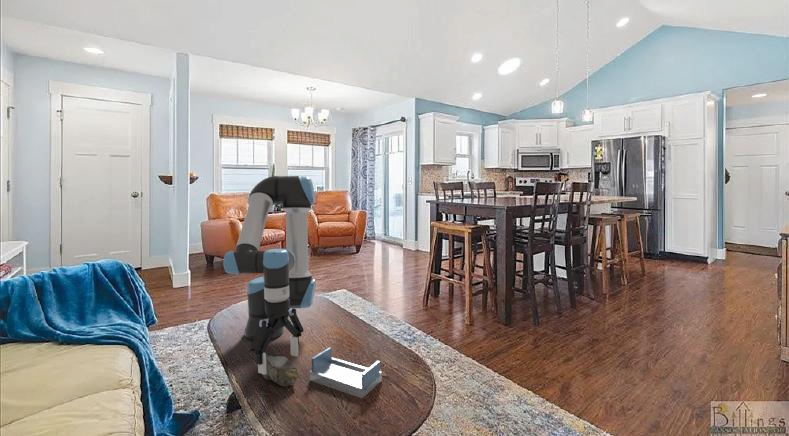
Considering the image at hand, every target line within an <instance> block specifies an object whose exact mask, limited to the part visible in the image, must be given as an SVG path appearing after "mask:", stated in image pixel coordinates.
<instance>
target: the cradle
mask: <svg viewBox="0 0 789 436" xmlns="http://www.w3.org/2000/svg"><path fill="white" fill-rule="evenodd" d="M382 377H383V376H382V371H381V361H380V360H376V361H375V362H374V363H373V364H372V365H371V366H369V367H366V366H362V365H359V364H356V363H352V362H350V361H349V362H348V361H346V360H343V359H339V358H335V357H333V356H332V347H330V346H329V347H328V348H326V349H324V350H323V351H321V352H319V353H317V354H316V355H315V356H313V357H311V370H310V371H309V381H311V382H313V383H316V384H319V385H321V386H325V387H327V388H330V389H333V390H336V391H338V392H339V391H340V392H341V393H345V394H348V395H350V396H353V397H357V398H360V399H364V397H366V395H368V394H369V393H370V392H372V390H373V389H374V388H376V387H377V386H378V385H379V384H380V383H381V382H382V380H383V379H382Z"/></svg>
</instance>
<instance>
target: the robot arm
mask: <svg viewBox="0 0 789 436" xmlns="http://www.w3.org/2000/svg"><path fill="white" fill-rule="evenodd" d="M314 189H315V188H314V185H313V181H312V178H311V177H309V176H306V175H305V176H303V175H284V176H283V175H282V176H281V175H273V176H269V177H266V178H264V179H262V180H261V181H259V182H258V183H257V184H255V186H254V187H253V188H252V190H251V191H250V193H249V195H248V198H247V204H248V207H247V210H246V213H245V217H244V220H243V223H242V227H241V229H240V233H239V236H238V240H237V243H236V245H235V248H234V250H231V251H226V253H225V254H224V256H223V265H222V266H223V268H224V272H225V273H227V274H230V275H248V274H249V275H250V274H251V275H252V274H261V275H262V274H263V276H261V277H256V278H254V279H252V280H250V281H249V282H248V284H247V292H246V293H247V308H248V309H247V310H248V317H247V322H246V326H245V329H244V337H245V339H246V340H249V341H252V343H251V346H250V348H249V349H250V350H249V353H250V354H252V355H255V363H256V365H257V373H258V374H261V375H262V374H263V375H265V374H266V355H267V353H266V352H265V350H266V349H267V346H268V345H269V343H270V340H273V339H276V338H278V337H280V336H281V335H283V334H284V328H285V329H286V330H287V331H288V332H290V333H291V335H290V336H289V339H290V340H289V341H290V356H293V357H296V358H297V357H299V345H300V337H302V333H303V332H304V331H305V330H304V328H303V326H302V323H301V321H300V319H299V317H298V314H297V309H299V310H300V309H307V308H310V307H312V306H313V303H314V298H315V295H316V294H315V293H316V282H317V280H316V279H315V278H313V277H312V276H313V274H312V272H310V271H309V258H308V257H309V247H308V246H309V241H308V240H309V238H308V237H309V235H308V234H309V233H308V232H309V231H308V230H309V229H308V228H309V227H308V221H309V220H308V219H309V218H308V216H309V215H308V213H309V212H310V211H311V210H312V206H313V205H315V203H316V197H315V190H314ZM274 205H279V206H280V205H281V209H282V210H283V211H284V213H285V217H286V218H285V220H286V221H285V225H286V226H285V227H286V228H285V229H286V230H285V235H286V239H285V240H286V242H285V243H286V245H285V246H286V247H285V248H272V249H271V248H270V249H267V250H260V247H261V242H262V239H263V234H264V231H265V227H266V223H267V219H268V215H269V211H270V210H272V208H273V207H274ZM288 318H289V319H288ZM263 375H262V376H263Z"/></svg>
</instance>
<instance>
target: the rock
mask: <svg viewBox="0 0 789 436" xmlns="http://www.w3.org/2000/svg"><path fill="white" fill-rule="evenodd" d="M261 375H262V376H263V378H264V379H265V380H267V381H273V382H274V383H275V384H277V385H279V386H282V387H284V388H285V387H289V386H294V385H295V384H296V381H297V379H298V377H299V372H298V368H297V366H296V365H295V363H293V362H291V361H290V359H288V357H286V356H284V355H283V356H281V355H280V356H279V355H277V356H271V355H268V354H266V374H265V375H263V374H261Z"/></svg>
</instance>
